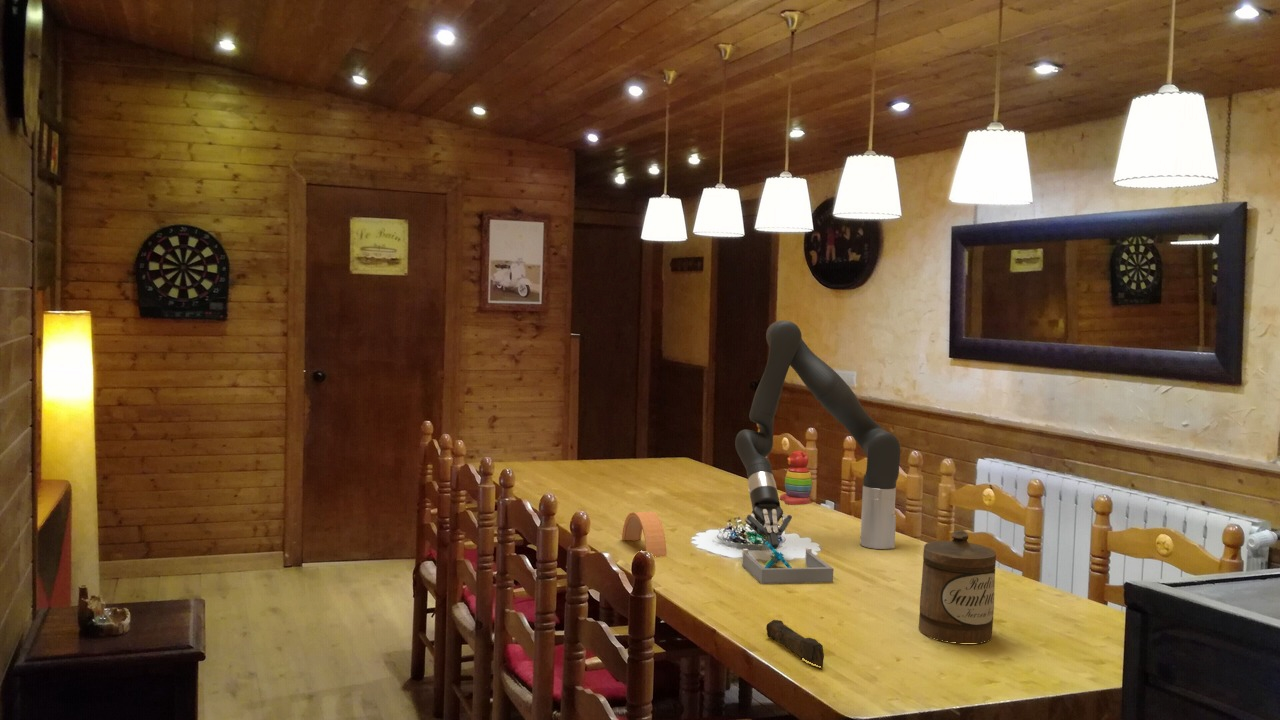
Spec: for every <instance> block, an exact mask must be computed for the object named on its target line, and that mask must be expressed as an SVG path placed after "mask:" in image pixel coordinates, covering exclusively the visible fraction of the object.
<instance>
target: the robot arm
mask: <svg viewBox="0 0 1280 720" xmlns="http://www.w3.org/2000/svg"><path fill="white" fill-rule="evenodd" d="M802 337H803V336H802V331H801V329H800V328H799V326H798V325H797V324H796V323H794V322H793V321H790V320H789V321H788V320H776V321H774V322H772V323H771V324H770V325H769V326H768V328H767V329H766V335H765V339H766V343H767V345H768V346H769V351H768V357H767V362H766V365H765V368H764V371H763V374H762V376H761V379H760V381H759V383H758V386H757V387H756V390H755V393H754V396H753V400H752V404H751V406H750V407H751V408H750V410H749V414H748V415H749V416H748V417H749V421H751V422H753V423H755V424H757V425H758V428H759V429H758V430H759V431H755V430H751V429H742V430H740V431H739V432H738V433H737V434H736V436H735V443H734V444H735V450H736V452H737V456H739V459H740V460H741V462H742V465H743V466H744V468H745V470H746V476H747V481H748V494H749V496H750V504H751V508H752V512H751V514H748V515H747V516H746V518H745V523H746V524H747V525H748V526H749V527H750V528H752V530H753V531H754V532H755V533H756V534H758V536H764V537H765V538H766V539H765V540H766V541H768V542H769V544H770V545H771V546H772V547H773V548H774V549H775V550H777V548H778V547H779V546H780V539H779V537H780V536H783V533H784V532H785V530H786V528H788V526H789V524H790V522H791V521H792V519H793V516H792V515H791V514H788V515H787V514H786V513H784V509H782V507H781V503H780V496H779V493H778V489H777V482H776V480H775V478H774V475H773V474H774V472H773V469H772V465H771V461H770V460H769V459H768V458H767V457H768V456H769V455H770V454H771V452H772V450H773V445H774V420H775V415H776V413H777V409H778V406H779V402H780V399H781V395H782V392H783V391H782V390H783V386H784V384H785V381H786V377H787V374H788V371H789V369H790V368H792V369H793V370H794V371H795V373H796V374H797V376H798V377H799V378H800V380H801V381H802V383H803V384H804V385H805V387H806V388H807V389H808V391H809V392H810V393H811V394H812V396H814V398H815V399H816V400H817V401H818V402H819V403H820V405H822V407H823V408H824V409H825V410H826V411H827V412H829V414H830V415H831V416H832V417H833V418H834V419H835V420H837V422H839V423H840V424H841V425H842V426H843V427H844V428H845V429H846V430H847V431H848V432H849V433H850V435H851V436H852V438H854V440H855V441H856V443H857V444H858V446H859V447H860V448H861V450H862V451H863V453H864V455H865V456H866V459H867V460H866V468H865V469H866V470H865V473H864V475H863V478H862V493H861V494H862V496H861V497H862V499H861V515H860V516H861V518H860V519H861V520H860V538H859V540H860V541H859V543H860V546H862V547H865V548H869V549H876V550H889V549H894V550H895V547H896V546H895V544H896V524H897V515H896V514H895V513H896V511H895V510H896V495H897V494H896V493H897V481H898V480H899V479H898V478H899V474H900V465H901V463H900V462H901V443H900V441H899V439H898V438H897V436H896V435H895V434H893V433H892V432H889V431H887V430H885V429H884V428H883V427H882V426H880V424H878V423H877V422H876V421H875V420H874V419H873V418H872V417H871V416H870V415H869V414H868V413H867V412H866V410H865V409H864V407H863V406H862V404H861V402H860V400H859V399H858V397H857V395H856V394H855V392H854V391H853V389H852V388H851V387H850V385H848V384H847V383H846V381H845V380H844V379H843V378H842V377H841V375H839V373H837V372H836V371H835V370H834V369H833V368H832V367H831V366H830V365H829V364H827V363H826V362H825V361H824V360H822V358H820V357H818V356H817V354H815V353H814V352H813V351H812V350H811V349H810V348H809V346H808V345H807V344H806V342H805V341H804V339H802ZM780 520H781V522H782V523H781V525H780V527H779V528H778V523H779V522H780Z"/></svg>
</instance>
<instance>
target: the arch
mask: <svg viewBox="0 0 1280 720" xmlns="http://www.w3.org/2000/svg"><path fill="white" fill-rule="evenodd" d="M663 527H664V526H663V524H662V522H661V519H660V517H659V516H658V515H657V513H656V512H654V511H639V512H638V511H637V512H630V513H629V514H628V515H627V516H626V518H625V521H624V524H623V527H622V534H621V541H623V540H633V541H642V533H643V536H644V546H645V552H646V551H648V552H650V553H652V554H653V556H654V558H661V557H660V556H666V557H667V544H666V543H667V541H666V536H665V530H664V528H663ZM639 539H640V540H639ZM655 556H656V557H655Z"/></svg>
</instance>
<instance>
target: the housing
mask: <svg viewBox="0 0 1280 720" xmlns="http://www.w3.org/2000/svg"><path fill="white" fill-rule="evenodd" d="M812 550H813V549H812V548H811V547H806V548H805V557H804V558H805V561H804V562H805V563H804V565H805V566H806V565H807V567H792V568H787V567H773V568H772V567H770V568H765V567H764V566H763V565H762V564H761V563H760V562H759V561H758V560H757V559H755V558H754V557H753V556H752V555H751V554H750V552H749V551H750V550H749V549H748V548H742V560H741V561H742V563H741V566H742V568H744V570H746V571H747V572H748V573H749V574H750V575H752V576H753V577H754V579H755V580H757V581H758V582H759V583H760V584H762V585H763V584H764V585H765V584H766V585H770V584H771V585H774V584H777V585H778V584H779V583H781V584H806V583H805V582H812V583H811V584H814V583H813V582H831V583H833V582H834V567H832V566H831V565H830V564H828V563H827V562H825V560H823V559H822V558H820V557H818V556H817V555H816V554H815V553H813V552H812Z"/></svg>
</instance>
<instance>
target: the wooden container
mask: <svg viewBox="0 0 1280 720" xmlns="http://www.w3.org/2000/svg"><path fill="white" fill-rule="evenodd" d="M951 538H952V540H935V541H929V542H927V543H925V544H924V545H923V552H922V553H923V554H922V555H923V557H922V559H923V560H922V574H921V586H920V595H919V596H920V597H919V615H918V616H919V617H918V630H919V631H920V633H921V634H923V635H925V636H926V635H927V636H926V637H928V636H929V638H930V637H932V638H931V639H933V638H935V639H934V640H936V639H938V640H937V641H939V640H943V641H948V642H956V643H981V642H984V641H988V640H989V641H991V640H992V638H993V629H994V628H993V627H994V625H993V624H994V614H995V611H994V610H995V589H996V588H995V587H996V586H995V584H996V563H997V562H996V561H997V553H996V552H997V551H995V550H994V549H992V548H990V547H988V546H985V545H981V544H977V543H973V542H969V541H968V540H969V534H968V533H967V532H966V531H964V530H959V529H957V530H955V531H953V532H952V533H951ZM990 639H991V640H990ZM943 641H942V642H943ZM989 641H988V642H989ZM948 642H947V643H948ZM981 644H982V643H981Z"/></svg>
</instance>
